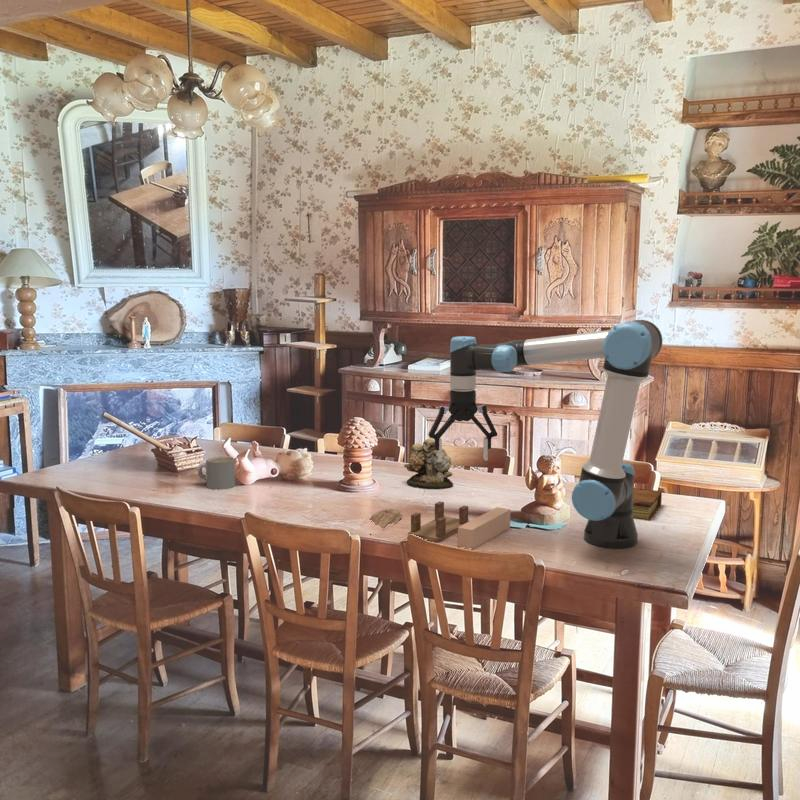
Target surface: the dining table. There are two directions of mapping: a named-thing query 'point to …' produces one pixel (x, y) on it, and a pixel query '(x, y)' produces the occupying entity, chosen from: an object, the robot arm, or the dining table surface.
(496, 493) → the dining table surface
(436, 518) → the rack
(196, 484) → the dining table surface
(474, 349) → the robot arm
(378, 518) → the fish fossil
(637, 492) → the diary
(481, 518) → the clay strip
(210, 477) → the coffee mug
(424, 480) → the owl figurine
